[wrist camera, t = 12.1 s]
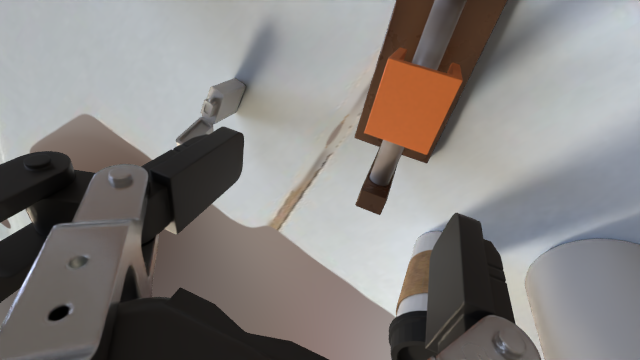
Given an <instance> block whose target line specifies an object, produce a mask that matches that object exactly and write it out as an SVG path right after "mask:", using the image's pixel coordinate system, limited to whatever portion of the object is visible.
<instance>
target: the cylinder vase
mask: <svg viewBox="0 0 640 360" xmlns="http://www.w3.org/2000/svg"><path fill="white" fill-rule="evenodd" d="M525 288H526V292H527V296H528V300H529V303H530V307H531V311H532V314H533V318H534V321H535V325H536V329H537V332H538V336H539V340H540V343H541V347H542V351H543V354H544V358H545V360H640V245H639V244H635V243H631V242H627V241H621V240H614V239H587V240H579V241H574V242H570V243H566V244H563V245H560V246H557V247H555V248H553V249H550V250H549V251H547V252H545V253H544V254H542V255H541V256H539V257H538V258H537V259H536V260H535V261H534V262H533V263H532V265H531V266H530V267H529V269H528V271H527V274H526V278H525Z"/></svg>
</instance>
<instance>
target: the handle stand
mask: <svg viewBox="0 0 640 360" xmlns="http://www.w3.org/2000/svg"><path fill="white" fill-rule="evenodd" d="M506 2H507V0H396V3H395V6H394V9H393V13H392V16H391V19H390V22H389V26H388V29H387V32H386V36H385V39H384V42H383V45H382V49H381V52H380V55H379V59H378V62H377V65H376V68H375V72H374V75H373V78H372V81H371V85H370V88H369V91H368V95H367V98H366V101H365V104H364V108H363V111H362V114H361V118H360V121H359V124H358V127H357V131H356V134H355V138H356V139H359V140H362V141H365V142H368V143H370V144H373V145H376V146H379V147H380V148H379V150H378V153H377V155H376V157H375V159H374V161H373V164H372V166H371V168H370V170H369V173H368V175H367V177H366V179H365V182H364V184H363V186H362V188H361V191H360V194H359V196H358V199H357V202H356V206H358V207H361V208H363V209H366V210H368V211H371V212H373V213H376V214H378V215H380V214H381V212H382V210H383V208H384V205H385V203H386V201H387V198H388V195H389V191H390V188H391V185H392V181H393V178H394V174H395V171H396V168H397V164H398V161H399V159H400V157H401V155H404V156H407V157H410V158H413V159H416V160H418V161H421V162H424V163H428V161H429V159H430V157H431V155H432V153H433V151H434V149H435V146H436V144H437V142H438V140H439V138H440V136H441V134H442V132H443V130H444V128H445V126H446V124H447V122H448V120H449V118H450V116H451V114H452V112H453V110H454V108H455V106H456V104H457V102H458V100H459V98H460V96H461V94H462V92H463V90H464V88H465V86H466V84H467V82H468V79H469V77H470V75H471V73H472V71H473V69H474V67H475V65H476V63H477V61H478V59H479V57H480V55H481V53H482V51H483V49H484V47H485V45H486V43H487V41H488V39H489V37H490V35H491V33H492V31H493V29H494V27H495V25H496V23H497V21H498V19H499V17H500V15H501V12H502V10H503V8H504V6H505V4H506ZM400 47H401V48H404V49H407V52H406V55H405V58H404V61H407V62H410V63H413V64H417V65H420V66H424V67H427V68H430V69H434V70H437V71H440V72H444V73H447V72H448V70H449V68H450V65H451V63H456V64H459V65H460V68H461V74H462V79H463V81H462V84H461V86H460V88H459V90H458V92H457V94H456V96H455V98H454V100H453V102H452V104H451V106H450V108H449V111H448V113H447V115H446V117H445V119H444V121H443V123H442V125H441V127H440V129H439V131H438V133H437V135H436V138H435V140H434V142H433V144H432V146H431V148H430V150H429V152H428V154H427V155H425V154H423V153H420V152H417V151H414V150H411V149H408V148H406V147H403V146H400V145H397V144H394V143H391V142H388V141H386V140H383V139H380V138H377V137H374V136H371V135H369V134H366V133H364V132H365V129H366V126H367V122H368V119H369V116H370V113H371V110H372V107H373V104H374V101H375V98H376V95H377V91H378V88H379V85H380V82H381V79H382V76H383V73H384V70H385V67H386V63H387V60H388V58H389V57H390V56H391V55H392V54H393V53H394V52H395V51H397V50H398V49H399V48H400Z"/></svg>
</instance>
